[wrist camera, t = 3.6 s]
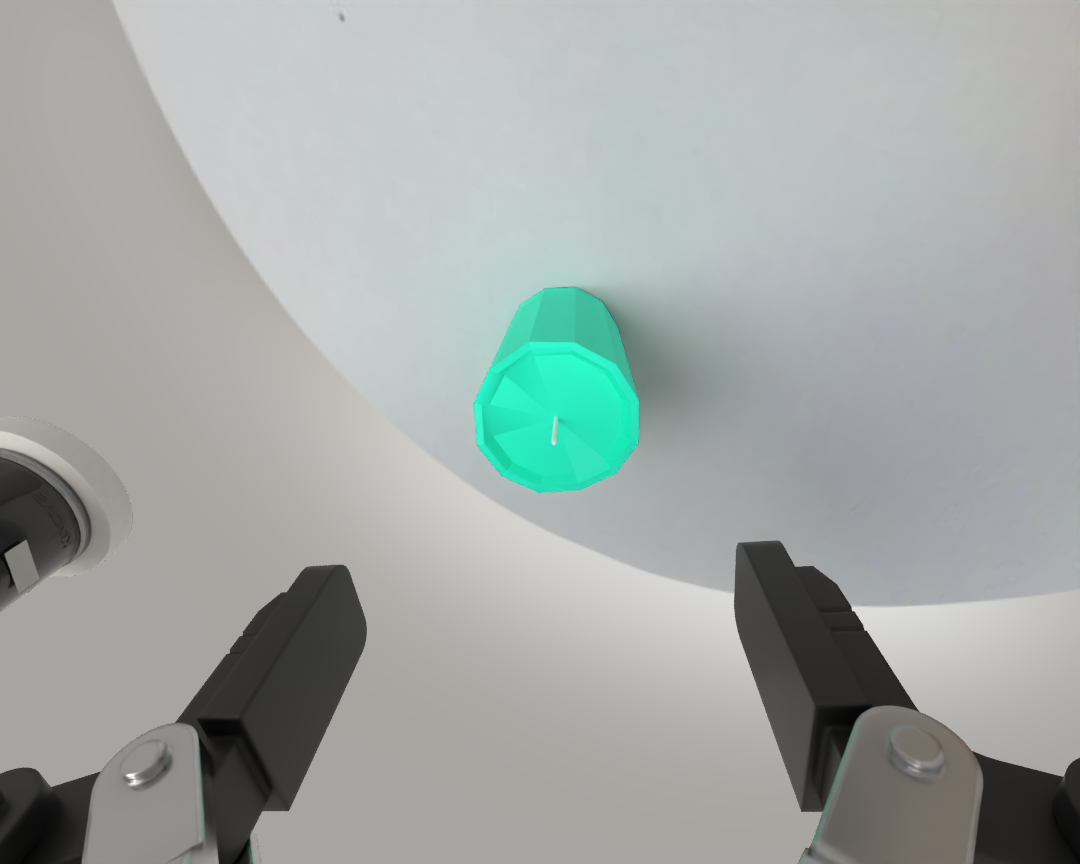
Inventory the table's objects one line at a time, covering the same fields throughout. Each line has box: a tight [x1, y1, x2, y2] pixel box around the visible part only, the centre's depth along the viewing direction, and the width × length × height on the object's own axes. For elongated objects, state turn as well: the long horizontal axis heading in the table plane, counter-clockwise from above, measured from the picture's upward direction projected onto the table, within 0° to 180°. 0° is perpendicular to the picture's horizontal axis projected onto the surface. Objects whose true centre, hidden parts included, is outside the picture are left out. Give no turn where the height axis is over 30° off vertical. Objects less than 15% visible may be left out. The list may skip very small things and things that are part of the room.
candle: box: [474, 287, 639, 493], centre depth 23 cm, size 6×6×12 cm
